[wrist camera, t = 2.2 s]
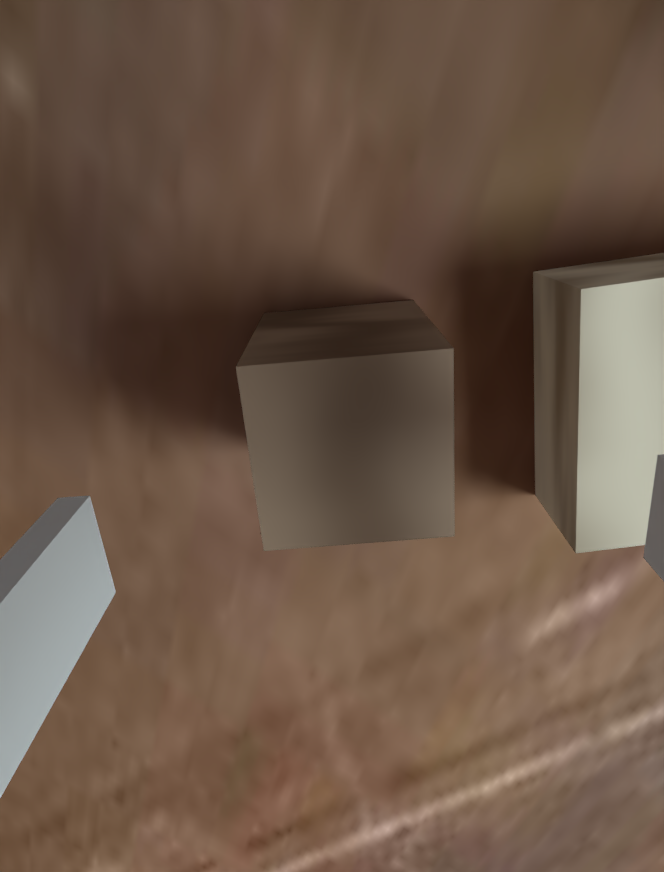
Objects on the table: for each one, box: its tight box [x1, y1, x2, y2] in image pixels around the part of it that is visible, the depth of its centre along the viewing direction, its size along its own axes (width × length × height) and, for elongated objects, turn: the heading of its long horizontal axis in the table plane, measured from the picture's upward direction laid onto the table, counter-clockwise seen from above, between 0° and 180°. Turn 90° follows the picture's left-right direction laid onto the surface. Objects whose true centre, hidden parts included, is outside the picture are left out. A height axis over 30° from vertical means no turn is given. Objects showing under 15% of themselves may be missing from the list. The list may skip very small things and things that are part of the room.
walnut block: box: [236, 300, 455, 551], centre depth 21 cm, size 6×6×8 cm
